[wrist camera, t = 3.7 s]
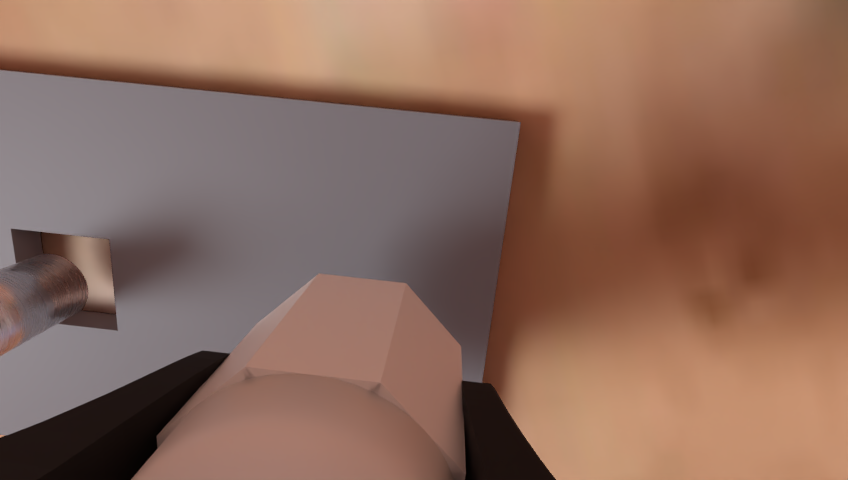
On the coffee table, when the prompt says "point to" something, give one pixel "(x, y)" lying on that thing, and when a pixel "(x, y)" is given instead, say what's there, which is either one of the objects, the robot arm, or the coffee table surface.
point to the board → (235, 219)
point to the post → (38, 297)
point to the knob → (327, 395)
